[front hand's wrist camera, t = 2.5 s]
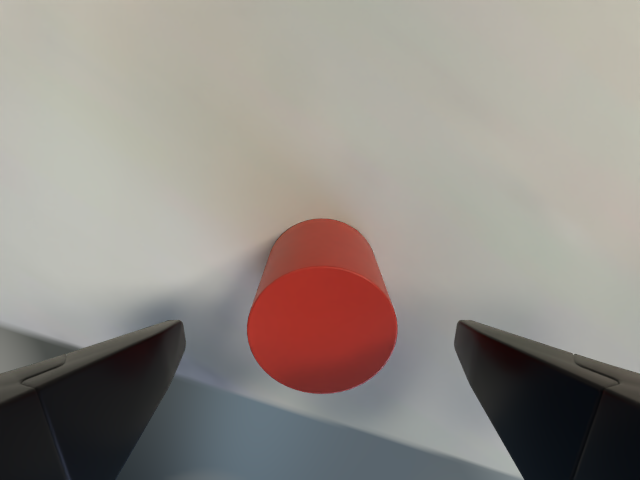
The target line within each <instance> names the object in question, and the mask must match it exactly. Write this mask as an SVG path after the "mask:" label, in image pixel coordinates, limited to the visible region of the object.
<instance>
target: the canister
mask: <svg viewBox="0 0 640 480" xmlns="http://www.w3.org/2000/svg"><path fill="white" fill-rule="evenodd" d="M247 336H248V342H249V345H250V349H251V351H252V353H253V355H254V357H255V359H256V361H257V362H258V364H259V365H260V366H261V367H262V369H263V370H264V371H265V372H266V373H267V374H269V375H270V376H271V377H272V378H273V379H275V380H276V381H278V382H279V383H281V384H283V385H285V386H287V387H290V388H292V389H295V390H298V391H302V392H307V393H315V394H329V393H337V392H342V391H346V390H349V389H352V388H354V387H357V386H359V385H361V384H363V383H365V382H366V381H368V380H369V379H371V378H372V377H374V376H375V375H376V374H377V373H378V372H379V371H380V370H381V369H382V368H383V367H384V366H385V364H386V363H387V361H388V360H389V358H390V356H391V354H392V352H393V350H394V347H395V344H396V339H397V319H396V315H395V312H394V308H393V306H392V303H391V300H390V297H389V295H388V292H387V289H386V286H385V284H384V281H383V278H382V275H381V273H380V270H379V267H378V265H377V262H376V259H375V256H374V254H373V251H372V249H371V247H370V245H369V243H368V242H367V240H366V239H365V238H364V237H363V236H362V235H361V234H360V233H359V232H358V231H357V230H356V229H354V228H352V227H351V226H349V225H347V224H345V223H343V222H339V221H336V220H331V219H312V220H307V221H304V222H301V223H299V224H296V225H294V226H293V227H291V228H289V229H288V230H287V231H285V232H284V233H283V234H282V235H281V236H280V237H279V238H278V239H277V241H276V242H275V244H274V245H273V247H272V250H271V252H270V255H269V258H268V261H267V263H266V266H265V269H264V272H263V275H262V278H261V281H260V284H259V287H258V290H257V293H256V295H255V298H254V301H253V304H252V307H251V310H250V313H249V317H248V323H247Z"/></svg>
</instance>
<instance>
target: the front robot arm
mask: <svg viewBox="0 0 640 480" xmlns="http://www.w3.org/2000/svg"><path fill="white" fill-rule="evenodd" d="M185 347H186V340H185V334H184V327H183V323H182V321H180V320H168V321H165V322H162V323H159V324H156V325H153V326H150V327H147V328H144V329H141V330H138V331H135V332H132V333H129V334H125V335H122V336H119V337H116V338H113V339H110V340H107V341H104V342H101V343H98V344H95V345H92V346H89V347H86V348H83V349H80V350H76V351H73V352H70V353H68V354H67V355H66V354H63V355H60V356H57V357H54V358H51V359H47V360H44V361H41V362H38V363H35V364H31V365H28V366H25V367H21V368H18V369H15V370H11V371H8V372H4V373H1V374H0V480H116V478H117V476H118V475H119V473H120V471H121V469H122V468H123V466H124V464H125V462H126V461H127V459H128V457H129V455H130V454H131V452H132V450H133V449H134V447H135V445H136V443H137V441H138V440H139V438H140V436H141V435H142V433H143V431H144V429H145V428H146V426H147V424H148V422H149V421H150V419H151V417H152V416H153V414H154V412H155V410H156V409H157V407H158V405H159V403H160V401H161V400H162V398H163V396H164V395H165V393H166V391H167V389H168V388H169V386H170V384H171V382H172V379H173V377H174V375H175V372H176V370H177V367H178V365H179V363H180V360H181V358H182V355H183V353H184V351H185ZM454 347H455V351H456V353H457V355H458V358H459V360H460V363H461V365H462V367H463V370H464V372H465V375H466V377H467V379H468V382H469V384H470V386H471V388H472V389H473V391H474V393H475V395H476V396H477V398H478V400H479V402H480V403H481V405H482V407H483V409H484V410H485V412H486V414H487V416H488V417H489V419H490V421H491V422H492V424H493V426H494V428H495V429H496V431H497V433H498V435H499V436H500V438H501V440H502V442H503V443H504V445H505V447H506V449H507V450H508V452H509V454H510V456H511V457H512V459H513V461H514V463H515V464H516V466H517V468H518V469H519V471H520V473H521V475H522V476H523V478H524V480H640V374H639V373H636V372H632V371H629V370H625V369H622V368H619V367H615V366H612V365H609V364H606V363H602V362H599V361H596V360H593V359H590V358H586V357H583V356H580V355H577V354H574V355H573V354H572V353H570V352H567V351H564V350H560V349H557V348H554V347H551V346H548V345H545V344H542V343H539V342H536V341H533V340H530V339H527V338H524V337H521V336H518V335H515V334H511V333H508V332H505V331H502V330H499V329H496V328H493V327H490V326H487V325H484V324H481V323H478V322H475V321H472V320H460V321H458V323H457V327H456V334H455V340H454Z"/></svg>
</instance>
